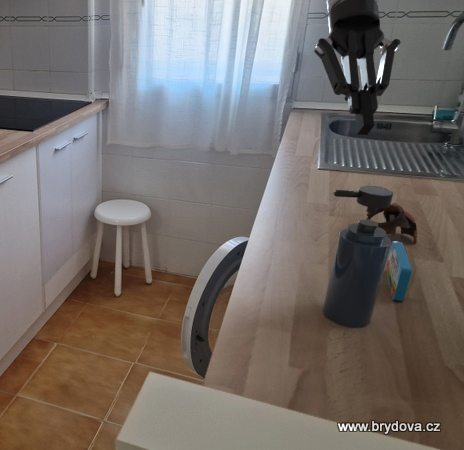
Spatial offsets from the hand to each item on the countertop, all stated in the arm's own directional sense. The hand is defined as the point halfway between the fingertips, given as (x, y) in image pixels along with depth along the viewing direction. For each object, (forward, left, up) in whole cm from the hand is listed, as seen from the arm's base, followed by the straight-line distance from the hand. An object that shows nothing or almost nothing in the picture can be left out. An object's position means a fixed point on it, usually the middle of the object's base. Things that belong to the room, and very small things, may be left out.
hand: (365, 130), depth 84 cm
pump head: (+2, +8, -10) cm, 13 cm away
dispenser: (0, +8, -28) cm, 30 cm away
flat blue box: (-12, -3, -29) cm, 31 cm away
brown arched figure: (-19, -26, -29) cm, 43 cm away
